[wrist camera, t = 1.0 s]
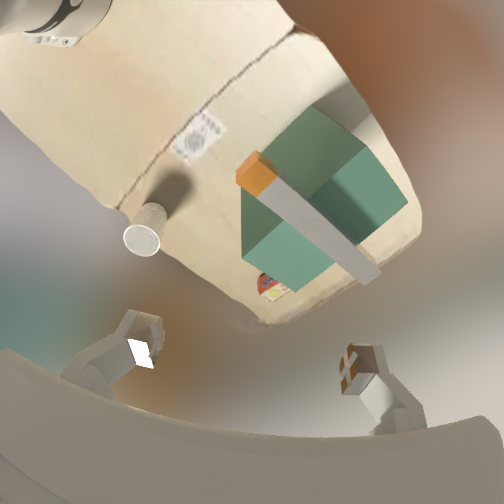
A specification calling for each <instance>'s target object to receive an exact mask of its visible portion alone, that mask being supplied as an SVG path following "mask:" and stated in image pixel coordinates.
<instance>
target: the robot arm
mask: <svg viewBox="0 0 504 504" xmlns="http://www.w3.org/2000/svg"><path fill="white" fill-rule="evenodd" d="M110 3H111V0H0V36H1V35H4V34H9V33H15V32H20V34H21V35H22V36H25V39H26V42H27V43H29V44H42V45H53V46H61V47H69V48H72V47H74V46H75V45H76V44H77V43H78V42H79V40H80V39H81V38H82V36H83V35H85V34H86V33H88V32H89V31H90V30H92V29H93V28H94V27H95V26H96V25H97V24H98V23H99V22H100V21H101V20H102V19H103V17H104V16H105V14H106V13H107V11H108V9H109V6H110ZM67 40H68V43H67ZM162 323H163V322H162V318H161V317H159V316H155V315H151V314H146V313H143V312H139V311H135V310H131V309H130V310H129V311H127V313H126V315H125V316H124V318H123V320H122V321H121V323H120V325H119V326H118V328H117V330H116V332H115V333H114V335H111V334H110V335H109V336H107V337H105V338H104V339H102V340H100V341H98V342H96V343H95V344H93V345H91V346H89V347H87V348H86V349H84V350H82V351H80V352H79V353H77V354H75V355H73V356H72V357H71V359H70V360H69V362H68V364H67V365H66V367H65V369H64V370H63V372H62V374H61V376H60V377H58V376H57V375H54V374H53V373H51V372H49V371H47V370H45V369H43V368H41V367H39V366H37V365H35V364H34V363H32V362H30V361H29V360H27V359H25V358H23V357H22V356H20V355H18V354H17V353H15V352H14V351H12V350H10V349H4V350H1V351H0V504H504V448H503V443H502V439H501V436H500V433H499V431H498V430H497V428H496V427H495V426H494V425H493V424H492V423H491V422H490V421H489V420H488V419H487V418H485V417H484V416H475V417H472V418H469V419H465V420H462V421H458V422H454V423H449V424H445V425H441V426H436V427H431V428H427V424H426V419H425V415H424V410H423V406H422V405H421V403H419V401H418V400H417V399H416V398H415V397H414V396H413V395H412V394H411V393H410V392H409V391H408V390H407V389H406V388H405V387H404V385H403V384H402V383H401V382H400V381H399V380H398V379H397V378H396V377H395V376H394V375H393V374H390V373H389V369H388V365H387V362H386V357H385V354H384V350H383V347H382V345H375V344H355V343H351V344H349V345H348V347H347V353H345V354H343V356H342V358H341V361H340V366H339V367H340V368H339V371H340V375H341V376H342V377H343V380H342V381H341V390H342V395H359V397H360V398H361V400H362V401H363V403H364V404H365V406H366V407H367V409H368V410H369V412H370V413H371V414H372V416H373V417H374V419H375V420H376V422H377V423H378V425H377V426H376V427H375V428H374V429H373V430H371V431H370V432H369V436H361V437H336V438H313V437H312V438H311V437H288V436H287V437H286V436H274V435H263V434H254V433H246V432H239V431H232V430H225V429H220V428H214V427H209V426H204V425H199V424H194V423H190V422H185V421H181V420H177V419H173V418H169V417H165V416H161V415H158V414H155V413H151V412H147V411H144V410H141V409H138V408H135V407H131V406H129V405H126V404H123V403H120V402H117V401H115V400H114V399H115V396H114V394H113V393H112V391H111V389H110V388H109V386H110V385H112V384H113V383H114V382H115V381H117V380H118V379H119V378H120V377H122V376H123V375H124V374H126V373H127V372H128V371H129V370H131V369H132V368H133V367H135V366H136V364H138V365H142V366H146V367H150V368H154V366H155V364H156V361H157V359H158V354H157V352H158V351H159V350H161V349H162V346H163V343H164V338H165V332H164V329H163V328H162V327H161V325H162Z"/></svg>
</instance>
